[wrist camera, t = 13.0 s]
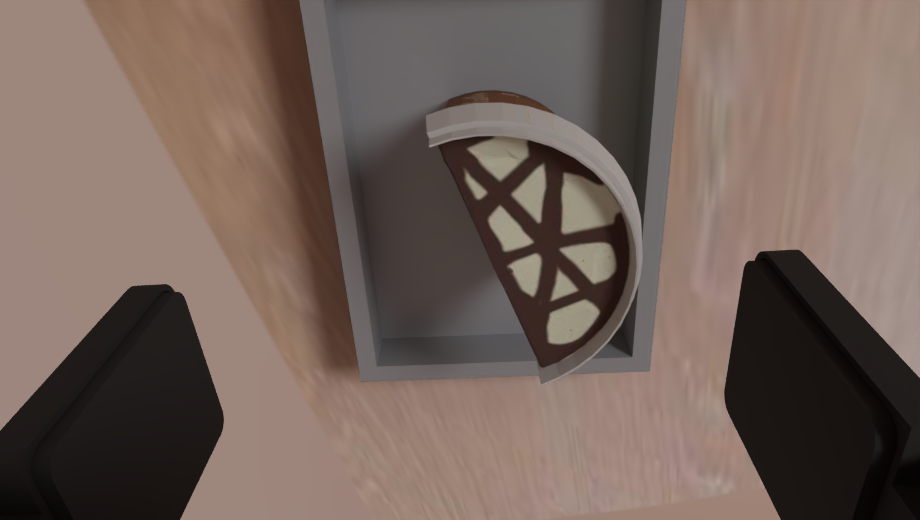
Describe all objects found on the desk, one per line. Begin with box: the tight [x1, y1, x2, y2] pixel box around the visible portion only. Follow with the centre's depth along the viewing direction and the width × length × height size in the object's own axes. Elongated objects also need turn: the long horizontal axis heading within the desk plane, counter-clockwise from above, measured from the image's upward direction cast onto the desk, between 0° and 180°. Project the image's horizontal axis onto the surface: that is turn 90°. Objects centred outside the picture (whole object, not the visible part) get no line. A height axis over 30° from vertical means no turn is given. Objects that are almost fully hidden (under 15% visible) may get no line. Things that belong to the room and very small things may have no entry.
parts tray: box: [299, 0, 687, 382], centre depth 32 cm, size 16×22×4 cm
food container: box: [426, 90, 643, 386], centre depth 28 cm, size 12×6×10 cm, turn 23°
